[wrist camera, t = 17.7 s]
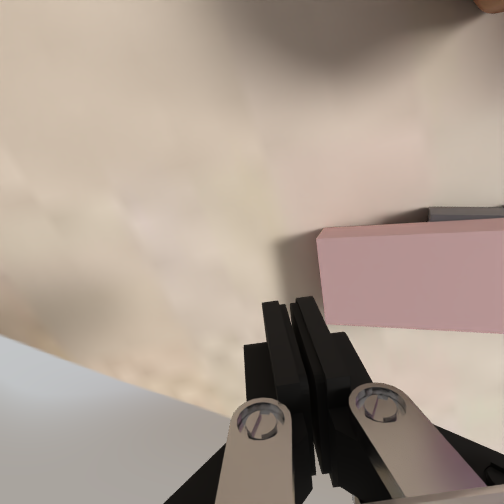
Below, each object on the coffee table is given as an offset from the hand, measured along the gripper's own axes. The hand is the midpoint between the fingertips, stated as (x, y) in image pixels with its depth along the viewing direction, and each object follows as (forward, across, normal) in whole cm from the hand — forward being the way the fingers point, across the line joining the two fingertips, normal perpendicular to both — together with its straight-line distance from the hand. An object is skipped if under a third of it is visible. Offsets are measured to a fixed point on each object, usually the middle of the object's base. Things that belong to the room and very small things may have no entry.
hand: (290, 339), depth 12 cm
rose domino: (+8, -3, +2) cm, 9 cm away
